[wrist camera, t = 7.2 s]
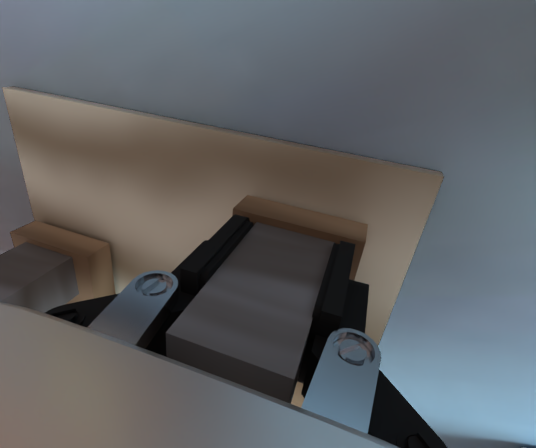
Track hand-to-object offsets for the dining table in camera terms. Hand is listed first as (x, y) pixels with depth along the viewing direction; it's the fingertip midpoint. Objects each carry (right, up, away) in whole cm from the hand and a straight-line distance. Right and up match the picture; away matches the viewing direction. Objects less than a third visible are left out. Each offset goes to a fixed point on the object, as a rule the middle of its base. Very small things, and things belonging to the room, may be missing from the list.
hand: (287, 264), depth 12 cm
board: (-6, -7, +9) cm, 13 cm away
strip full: (-1, -8, +7) cm, 11 cm away
